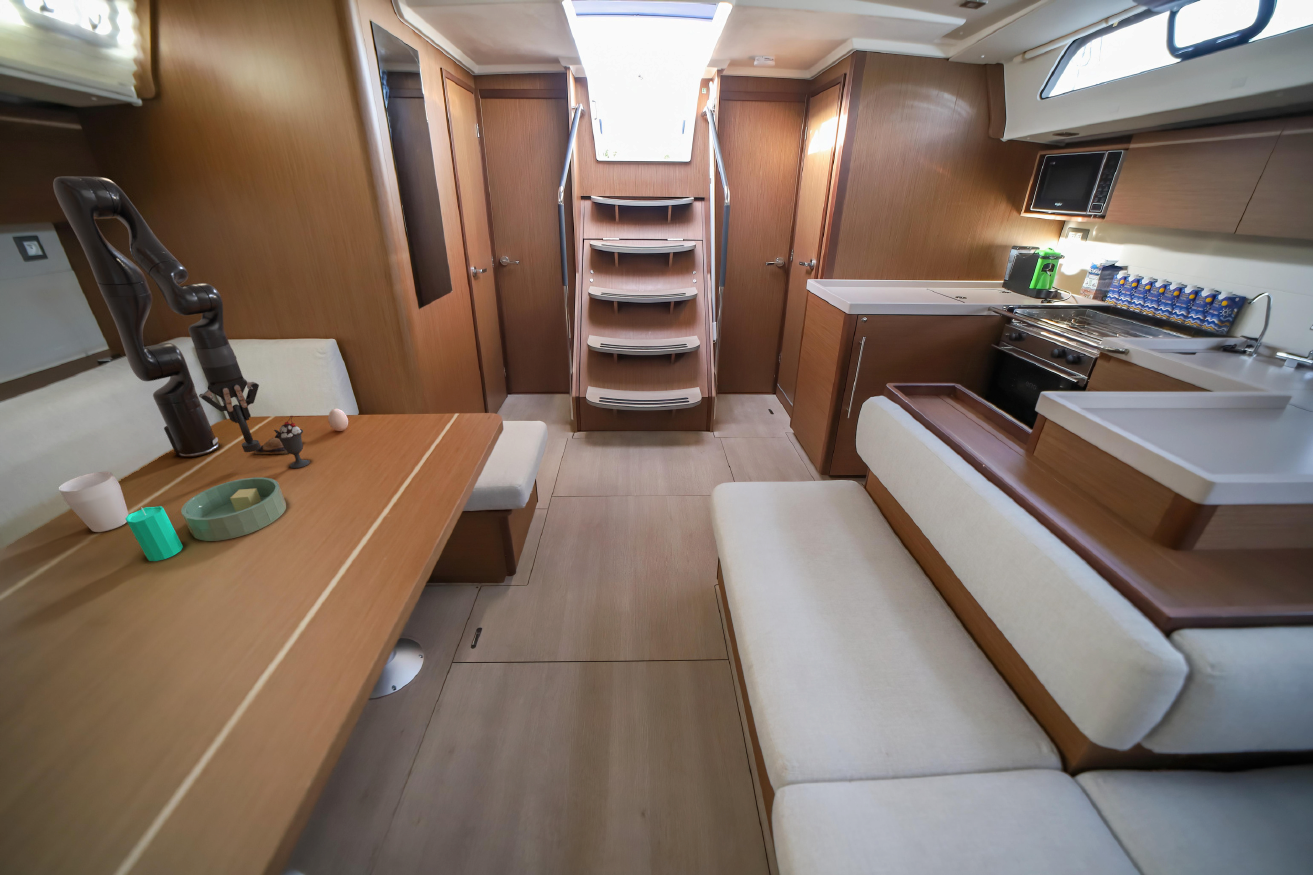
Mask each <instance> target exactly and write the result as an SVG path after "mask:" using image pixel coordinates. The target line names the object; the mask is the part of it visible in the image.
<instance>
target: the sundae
mask: <svg viewBox="0 0 1313 875" xmlns="http://www.w3.org/2000/svg"><path fill="white" fill-rule="evenodd" d="M293 417H294V415H290V416H289V419H288V420H286V421H285V422H284V423H283V424H282V425H280V427H279V430H278V429H273V432H275V433H276V434H275V435H274V438H277V439H279V440H280V441H281V443H282V444H283V446H284V448H285V450H286V451H287V452H288V453H287V454H290V455H293V456H294V459H295V461H293V462H292V463H290V465H289V467H290V469H300V468H304V467H306V466H308V465H309V464H310V460H309V459H302V457H301V455H300V453H301V452H302V451H303V449H304V445H303V444H304V443H303V438H302V434H303V433H304V430H303V429H302V428H300V427H299V426H296V423H294V422H293V420H292V419H293ZM289 421H290V422H291V423H290V422H289Z"/></svg>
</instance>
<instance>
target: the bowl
mask: <svg viewBox="0 0 1313 875" xmlns="http://www.w3.org/2000/svg"><path fill="white" fill-rule="evenodd" d="M254 488H257V491H258V493H259V496H260V498H261V502H260V503H258V504H256V505H254V506H252V507H250V508H247V509H244V510H241V511H235V509H234V506H233V504H232V502H231V499H230V498H231V497H232V496H233V495H234V494H235V493H236V492H237V491H238V490H241V489H254ZM286 509H287V502H286V500H285V497H284V494H283V491H282V489H281V486H280V484H279V482H278V481H277V480H276V479H273V478H269V477H260V476H259V477H257V476H256V477H254V476H253V477H246V478H239V479H235V480H230V481H227V482H223V483H220V484H218V485H214V486H211V487H210V488H207V489H205V490H203V491H201V492H199V493H197V494H195V495H194V496H192V497H191V498H189V499H188V500H187V501H186V502H185V503H184V504H183V506H182V507H181V509H180V511H181V516H182V518H183V520H184V522H185V524H186V527H187V529H188V531H189V532H190V535H192V536H193V537H194V538H195V539H197V540H199V541H203V542H205V541H206V542H219V541H226V540H227V541H228V540H231V539H236V538H239V537H244V536H246V535H249V534H252V533H254V532H257V531H259V530H261V529H264V528H265V527H267V526H269V525H270V524H272V523H274V522H275V521H277V520H278V519H280V517H281V516H282V515H283V514H284V513H285V512H286Z"/></svg>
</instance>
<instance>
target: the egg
mask: <svg viewBox="0 0 1313 875" xmlns="http://www.w3.org/2000/svg"><path fill="white" fill-rule="evenodd" d="M327 421H328V424H329V426H330V428H331V429H332V430H334V431H335V432H336V431H337V432H343V431H345V430H346V429H347V428H348V426H349V419H348V416H347V414H346V413H345V412H344V411H343V410H342V409H339V408H333V409H331V410H330V411H329V413H328V417H327Z"/></svg>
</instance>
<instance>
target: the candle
mask: <svg viewBox="0 0 1313 875" xmlns="http://www.w3.org/2000/svg"><path fill="white" fill-rule="evenodd" d="M140 508H141V509H139V510H137V511H134V512H132V513H129V514H128V516H127V517H126V521H127V522H126V524H127V525H128V526H129V528H130V531H131V532H132V535H133V536H134V538H135V539H136V541H137V543H138V545H139V546H140V549H141V550H142V552H143V553H144V555H145V557H146V559H147V560H148V561H149V562H159V561H162V560H166V559H169V558H171V557H174V556H175V555H177V554H178V553H180V552H181V551H182V549H183V548H184V546H183V544H182V542H181V540H180V538H179V535H178V533H177V532H176V530H175V528H174V526H173V523H172V522H171V520H170V518H169V515H168V514H167V512H166V510H165V508H164V507H163V506H162V505H159V506H145V507H142V506H141V507H140Z"/></svg>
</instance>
